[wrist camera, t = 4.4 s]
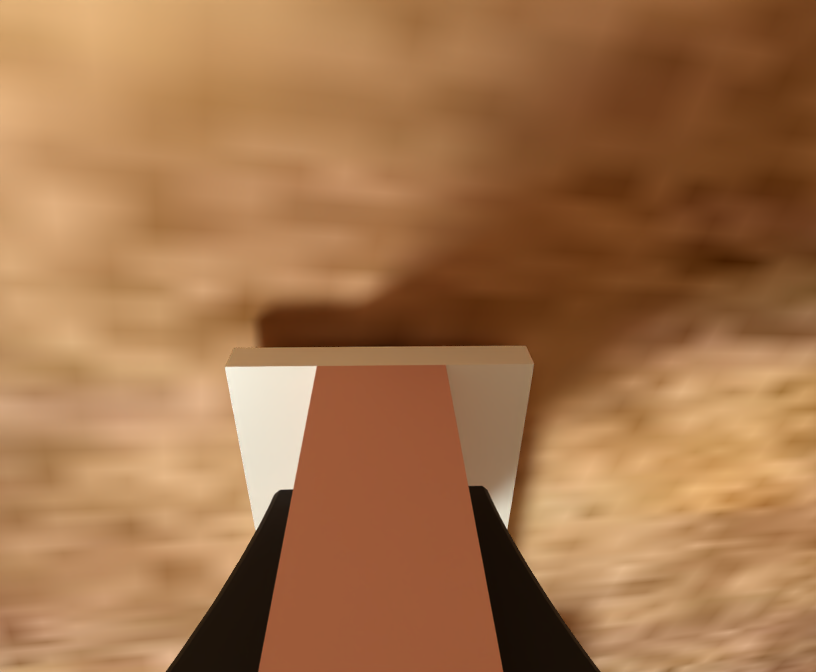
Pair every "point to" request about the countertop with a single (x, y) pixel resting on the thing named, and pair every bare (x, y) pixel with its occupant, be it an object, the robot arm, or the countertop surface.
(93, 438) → the countertop surface
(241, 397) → the pink and white block
